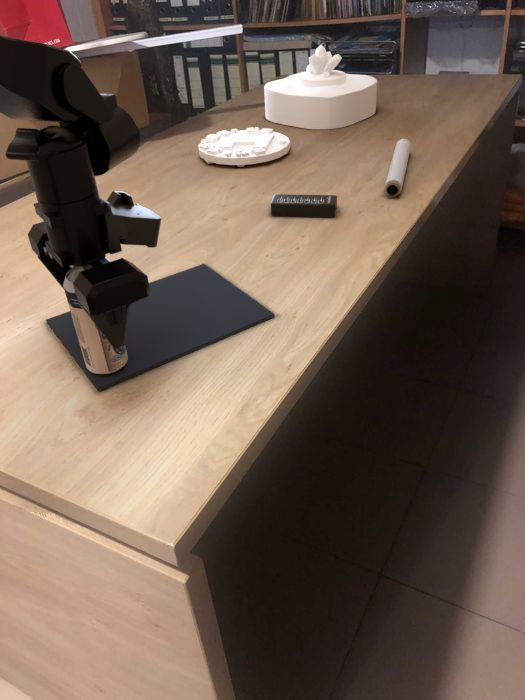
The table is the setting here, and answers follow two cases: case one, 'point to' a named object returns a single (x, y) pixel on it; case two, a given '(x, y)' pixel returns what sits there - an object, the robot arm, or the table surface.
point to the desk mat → (172, 322)
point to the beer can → (92, 334)
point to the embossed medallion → (243, 146)
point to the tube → (398, 168)
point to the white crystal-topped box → (321, 96)
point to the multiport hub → (304, 206)
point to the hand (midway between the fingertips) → (101, 327)
